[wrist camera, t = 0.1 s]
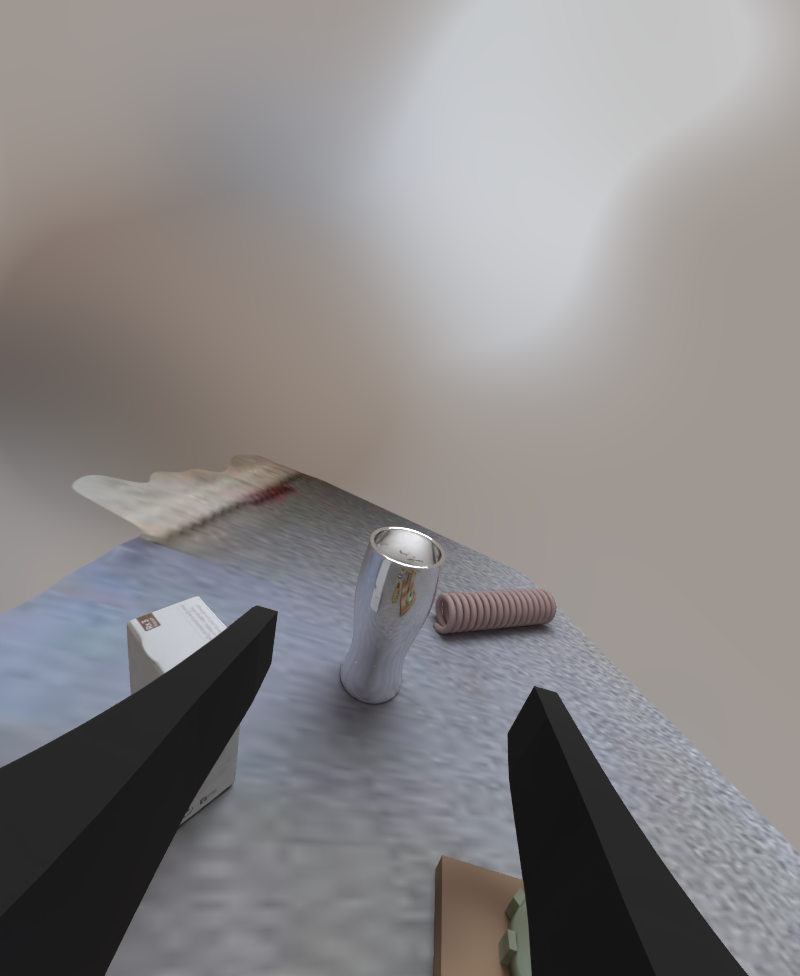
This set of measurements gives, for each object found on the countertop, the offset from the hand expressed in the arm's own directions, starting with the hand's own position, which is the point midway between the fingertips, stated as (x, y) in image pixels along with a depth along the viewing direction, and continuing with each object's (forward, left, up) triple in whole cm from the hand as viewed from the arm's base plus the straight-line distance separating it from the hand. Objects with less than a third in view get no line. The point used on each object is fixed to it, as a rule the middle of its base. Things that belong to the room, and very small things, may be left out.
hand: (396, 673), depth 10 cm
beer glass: (+20, 0, -22) cm, 30 cm away
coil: (+34, -14, -22) cm, 43 cm away
